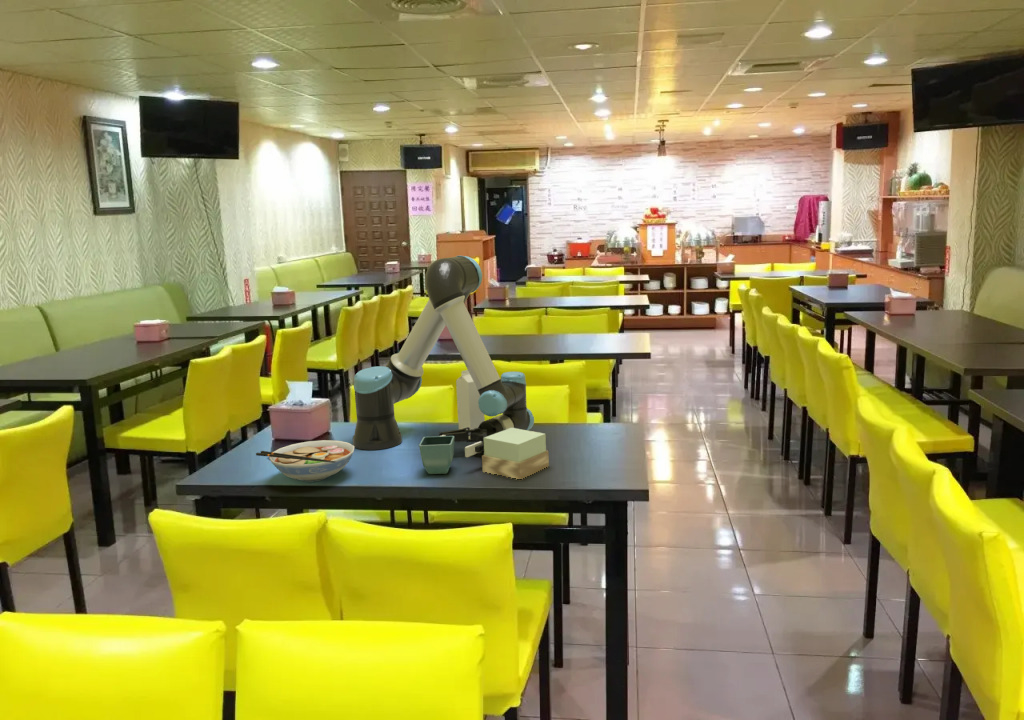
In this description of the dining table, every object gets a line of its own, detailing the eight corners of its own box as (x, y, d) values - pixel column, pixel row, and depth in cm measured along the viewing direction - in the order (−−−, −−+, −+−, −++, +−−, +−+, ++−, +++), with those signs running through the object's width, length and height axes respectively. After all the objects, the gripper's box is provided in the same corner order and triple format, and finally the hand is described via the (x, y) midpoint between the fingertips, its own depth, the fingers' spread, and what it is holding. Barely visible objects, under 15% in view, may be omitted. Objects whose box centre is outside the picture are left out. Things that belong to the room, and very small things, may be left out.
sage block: (484, 455, 212) (483, 437, 211) (512, 444, 221) (511, 427, 220) (518, 462, 204) (518, 444, 203) (546, 451, 213) (545, 433, 212)
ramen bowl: (376, 469, 218) (374, 441, 217) (325, 496, 198) (322, 466, 196) (305, 460, 229) (303, 434, 227) (249, 486, 208) (246, 456, 207)
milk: (485, 437, 246) (482, 369, 242) (470, 441, 242) (467, 372, 238) (473, 434, 250) (470, 367, 246) (458, 438, 246) (455, 370, 242)
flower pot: (425, 467, 219) (423, 436, 217) (456, 466, 218) (454, 435, 217) (420, 477, 210) (418, 445, 208) (453, 476, 210) (451, 444, 208)
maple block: (482, 473, 212) (481, 455, 212) (511, 460, 223) (511, 443, 222) (520, 481, 205) (520, 463, 204) (548, 468, 215) (548, 450, 214)
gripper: (529, 448, 225) (482, 468, 208) (464, 436, 240) (415, 454, 223) (528, 423, 223) (481, 441, 207) (463, 413, 238) (414, 429, 222)
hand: (447, 448), depth 215 cm, fingers open, 13 cm apart
